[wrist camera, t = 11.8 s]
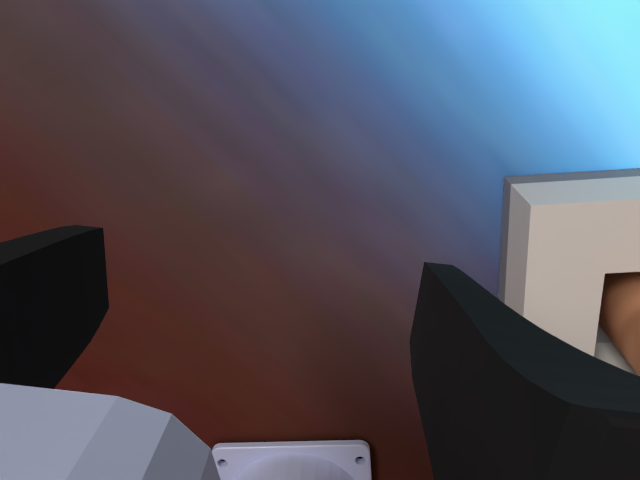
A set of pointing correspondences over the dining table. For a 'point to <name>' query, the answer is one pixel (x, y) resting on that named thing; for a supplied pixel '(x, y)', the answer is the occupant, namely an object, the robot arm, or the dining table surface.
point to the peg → (622, 314)
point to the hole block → (569, 251)
